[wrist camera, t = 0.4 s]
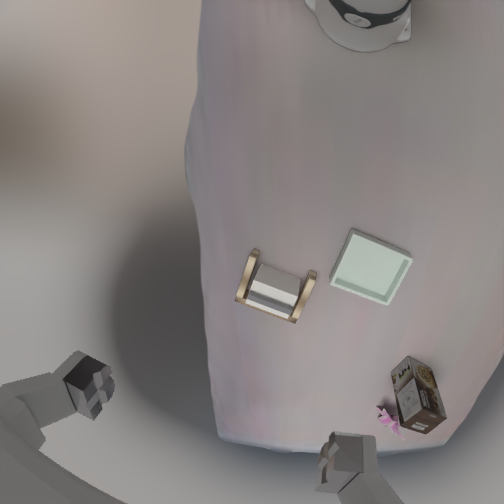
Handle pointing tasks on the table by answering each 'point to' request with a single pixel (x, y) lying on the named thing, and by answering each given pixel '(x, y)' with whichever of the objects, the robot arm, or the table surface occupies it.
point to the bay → (242, 298)
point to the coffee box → (417, 396)
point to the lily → (390, 422)
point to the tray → (370, 267)
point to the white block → (274, 291)
